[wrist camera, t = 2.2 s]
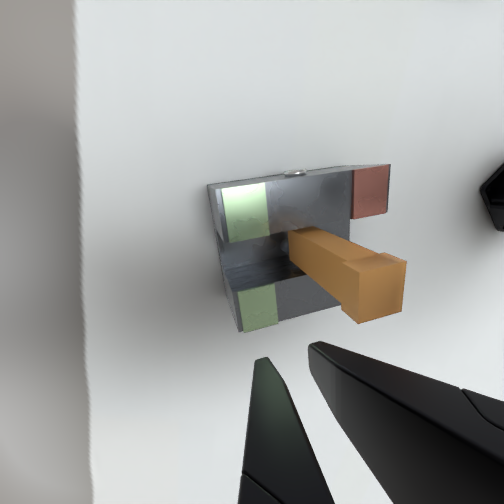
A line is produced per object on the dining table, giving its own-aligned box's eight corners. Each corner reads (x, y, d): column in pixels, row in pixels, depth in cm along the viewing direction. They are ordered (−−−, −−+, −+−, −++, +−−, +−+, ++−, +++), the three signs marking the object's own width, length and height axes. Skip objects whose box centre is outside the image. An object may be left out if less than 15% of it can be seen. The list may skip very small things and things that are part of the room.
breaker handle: (312, 223, 17) (406, 261, 10) (313, 254, 18) (401, 311, 11) (283, 228, 17) (359, 273, 10) (285, 260, 18) (357, 324, 10)
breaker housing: (342, 161, 20) (393, 158, 15) (342, 272, 23) (383, 298, 18) (206, 180, 18) (214, 183, 13) (227, 299, 21) (240, 337, 16)
